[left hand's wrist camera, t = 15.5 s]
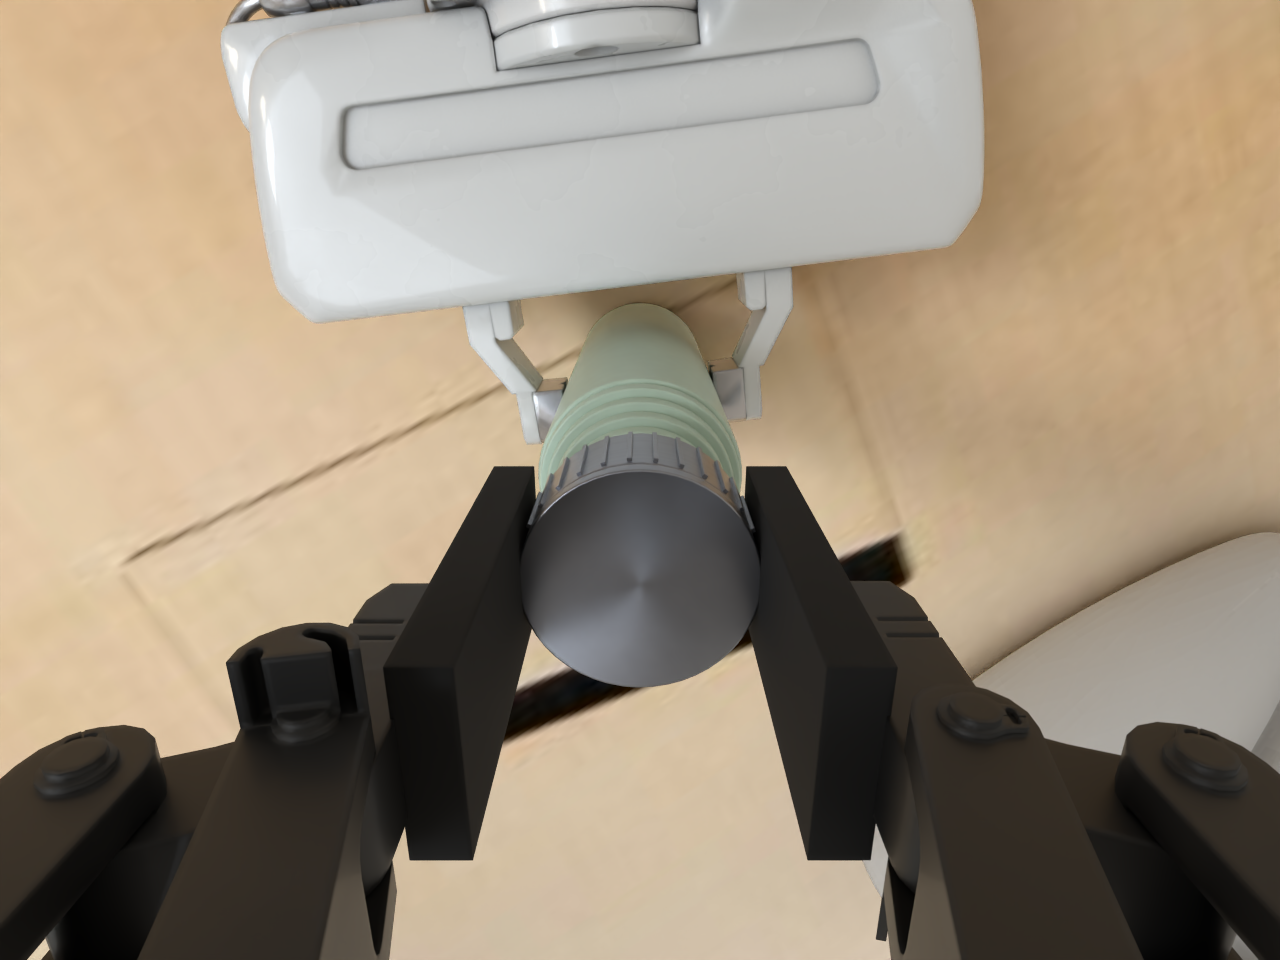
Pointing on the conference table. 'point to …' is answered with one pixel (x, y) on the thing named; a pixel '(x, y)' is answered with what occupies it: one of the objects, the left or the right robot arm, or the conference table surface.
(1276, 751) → the projector
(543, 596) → the cap
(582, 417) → the bottle
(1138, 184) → the conference table surface
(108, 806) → the left robot arm
